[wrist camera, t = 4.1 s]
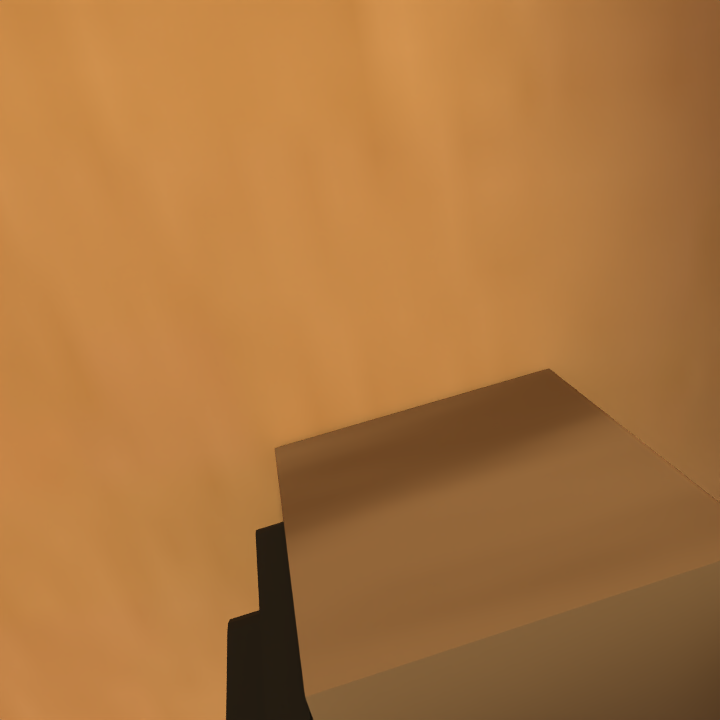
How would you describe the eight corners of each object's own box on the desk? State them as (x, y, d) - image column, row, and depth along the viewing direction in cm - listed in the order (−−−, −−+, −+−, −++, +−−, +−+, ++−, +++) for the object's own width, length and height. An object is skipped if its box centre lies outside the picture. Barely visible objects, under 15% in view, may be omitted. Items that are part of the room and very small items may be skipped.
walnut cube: (274, 448, 11) (305, 696, 6) (548, 368, 11) (772, 544, 6) (341, 658, 13) (403, 967, 8) (573, 583, 13) (757, 835, 8)
